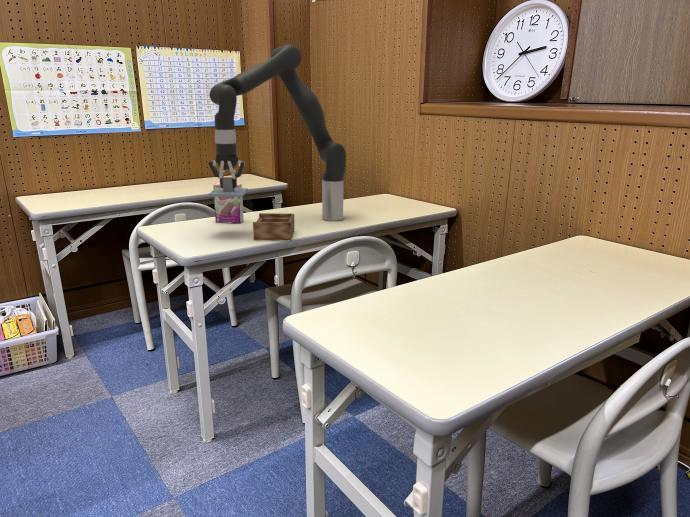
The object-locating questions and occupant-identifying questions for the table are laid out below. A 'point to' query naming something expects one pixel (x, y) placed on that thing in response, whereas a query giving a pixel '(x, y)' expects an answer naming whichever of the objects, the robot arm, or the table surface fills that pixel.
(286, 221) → the wooden box
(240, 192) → the lid
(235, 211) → the candy bar box
